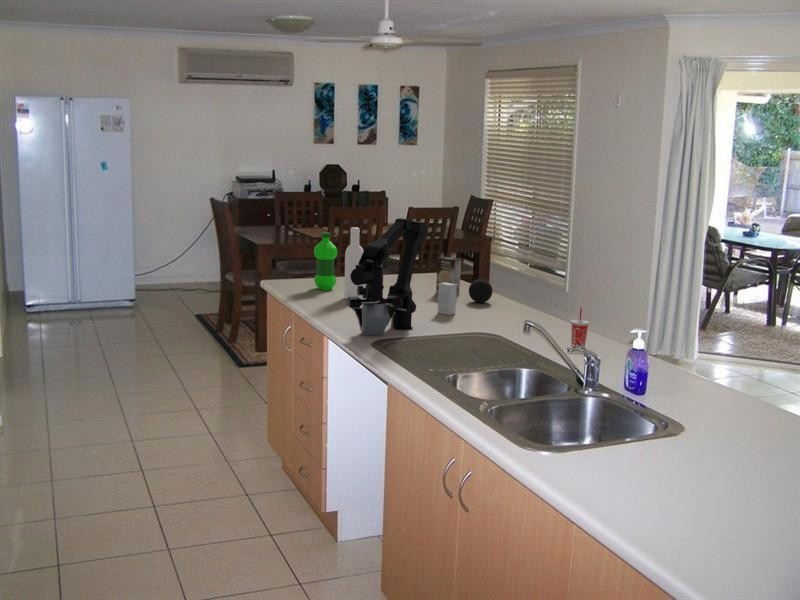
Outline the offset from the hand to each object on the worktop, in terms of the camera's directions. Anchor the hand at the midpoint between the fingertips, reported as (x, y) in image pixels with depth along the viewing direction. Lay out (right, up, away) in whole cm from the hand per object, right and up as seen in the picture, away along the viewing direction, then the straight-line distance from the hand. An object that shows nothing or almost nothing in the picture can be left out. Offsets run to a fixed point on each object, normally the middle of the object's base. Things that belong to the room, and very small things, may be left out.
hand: (373, 325), depth 295 cm
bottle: (-11, +9, +64) cm, 66 cm away
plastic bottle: (-24, +14, +84) cm, 88 cm away
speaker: (+43, +8, +65) cm, 78 cm away
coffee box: (+30, +11, +82) cm, 88 cm away
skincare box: (+27, +3, +42) cm, 50 cm away
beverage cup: (+70, -7, -5) cm, 70 cm away
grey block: (-1, 0, +4) cm, 4 cm away
